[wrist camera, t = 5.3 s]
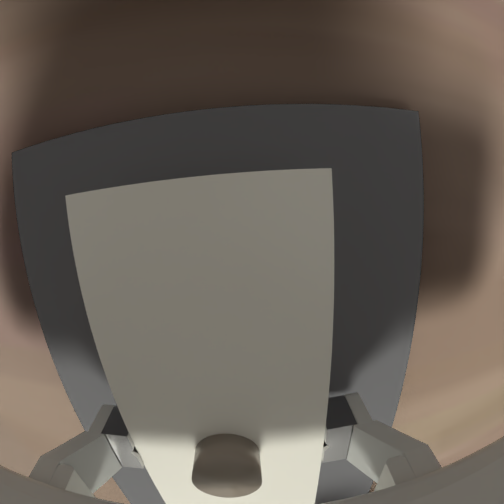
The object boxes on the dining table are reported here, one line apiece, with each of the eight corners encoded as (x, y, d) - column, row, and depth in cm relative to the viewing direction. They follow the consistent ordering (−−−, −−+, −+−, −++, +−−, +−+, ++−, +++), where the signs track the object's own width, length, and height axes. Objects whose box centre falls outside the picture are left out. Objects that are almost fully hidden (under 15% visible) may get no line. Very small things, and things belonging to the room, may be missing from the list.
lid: (191, 502, 12) (186, 555, 9) (106, 189, 9) (36, 200, 5) (302, 497, 12) (312, 550, 9) (306, 170, 9) (350, 166, 5)
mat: (138, 501, 14) (136, 510, 13) (24, 153, 9) (11, 152, 8) (362, 489, 14) (365, 498, 13) (406, 114, 9) (418, 111, 8)
